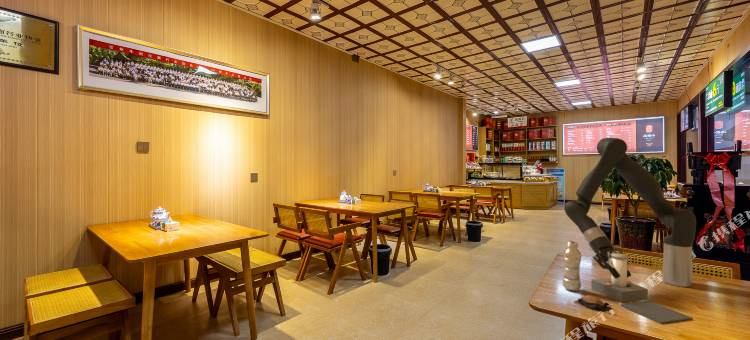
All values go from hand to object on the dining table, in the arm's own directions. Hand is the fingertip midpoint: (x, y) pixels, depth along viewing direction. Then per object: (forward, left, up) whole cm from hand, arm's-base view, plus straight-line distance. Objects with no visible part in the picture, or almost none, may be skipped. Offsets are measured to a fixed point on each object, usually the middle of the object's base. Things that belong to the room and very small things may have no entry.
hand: (623, 276), depth 132 cm
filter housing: (0, -2, -8) cm, 8 cm away
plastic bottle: (+15, -10, -8) cm, 20 cm away
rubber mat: (+3, +14, -8) cm, 16 cm away
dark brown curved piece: (+20, +4, -8) cm, 22 cm away
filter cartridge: (0, -2, -8) cm, 8 cm away
